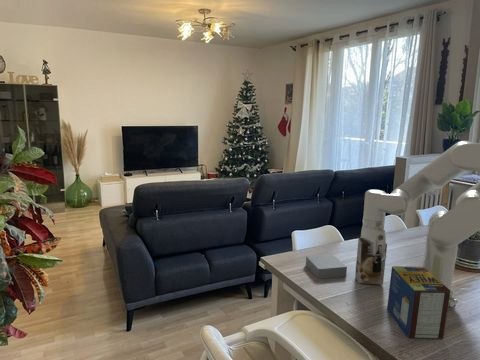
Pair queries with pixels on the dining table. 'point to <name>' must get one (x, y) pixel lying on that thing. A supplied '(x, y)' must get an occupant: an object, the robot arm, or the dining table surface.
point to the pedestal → (326, 266)
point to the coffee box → (367, 265)
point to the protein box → (418, 302)
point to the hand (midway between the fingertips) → (369, 266)
